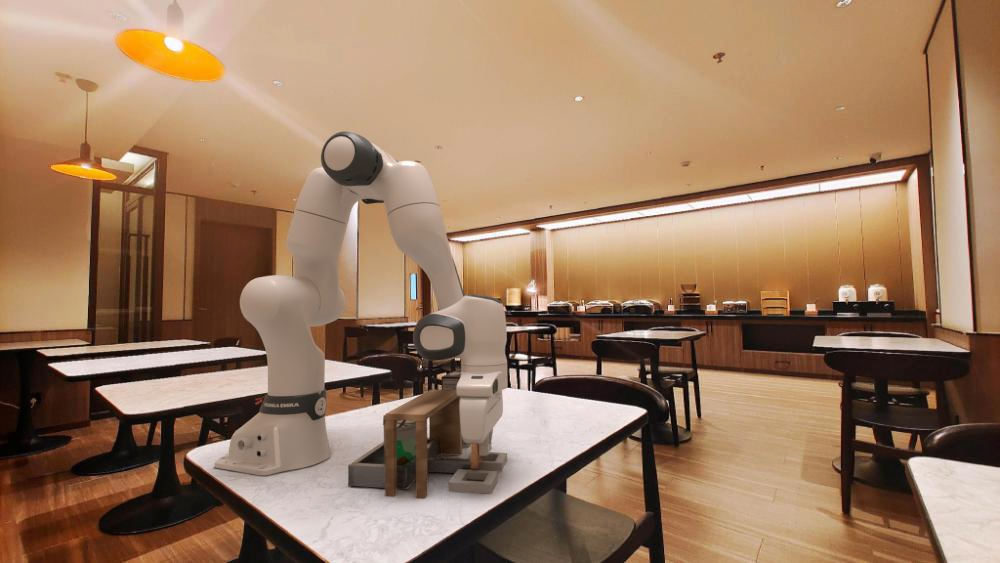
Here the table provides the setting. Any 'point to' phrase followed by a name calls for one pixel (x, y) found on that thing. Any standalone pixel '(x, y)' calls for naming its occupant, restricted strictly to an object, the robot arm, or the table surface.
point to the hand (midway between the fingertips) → (485, 453)
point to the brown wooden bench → (423, 434)
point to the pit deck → (479, 475)
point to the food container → (404, 440)
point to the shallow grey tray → (407, 466)
